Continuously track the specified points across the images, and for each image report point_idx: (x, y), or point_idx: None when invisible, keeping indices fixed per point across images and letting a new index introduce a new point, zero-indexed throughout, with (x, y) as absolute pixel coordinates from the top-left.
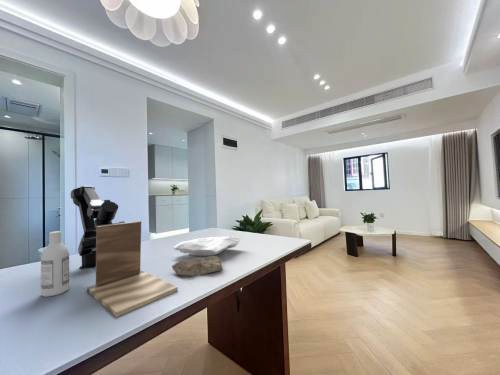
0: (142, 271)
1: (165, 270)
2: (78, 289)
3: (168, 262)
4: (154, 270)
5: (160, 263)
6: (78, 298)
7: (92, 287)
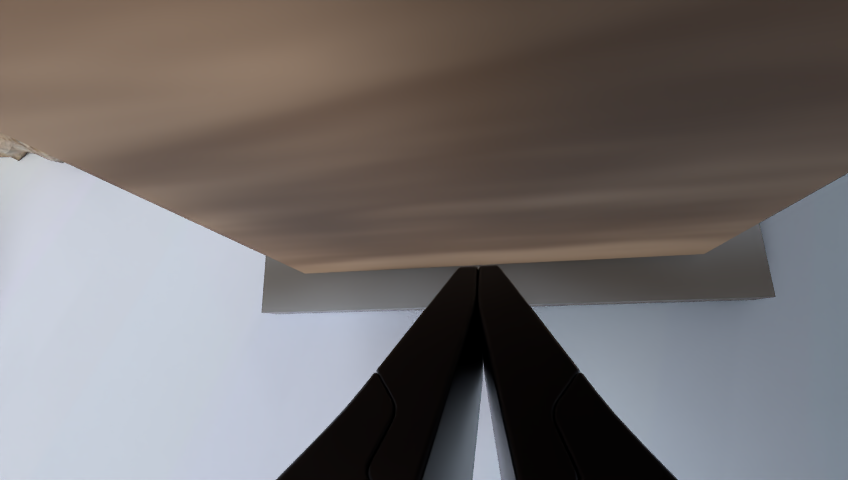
0: (270, 282)
1: (145, 221)
2: (826, 421)
3: (5, 398)
4: (183, 299)
5: (47, 443)
6: (829, 184)
7: (727, 246)
